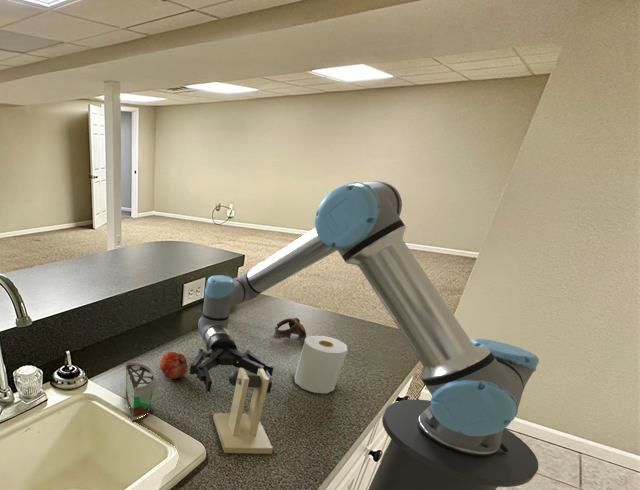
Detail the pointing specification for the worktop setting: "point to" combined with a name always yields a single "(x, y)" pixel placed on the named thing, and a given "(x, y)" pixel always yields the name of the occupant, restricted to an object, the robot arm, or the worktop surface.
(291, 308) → the worktop surface
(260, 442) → the switch bracket
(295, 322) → the brown curved openwork frame
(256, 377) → the lever
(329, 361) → the toilet paper
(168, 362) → the pomegranate
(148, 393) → the food container
